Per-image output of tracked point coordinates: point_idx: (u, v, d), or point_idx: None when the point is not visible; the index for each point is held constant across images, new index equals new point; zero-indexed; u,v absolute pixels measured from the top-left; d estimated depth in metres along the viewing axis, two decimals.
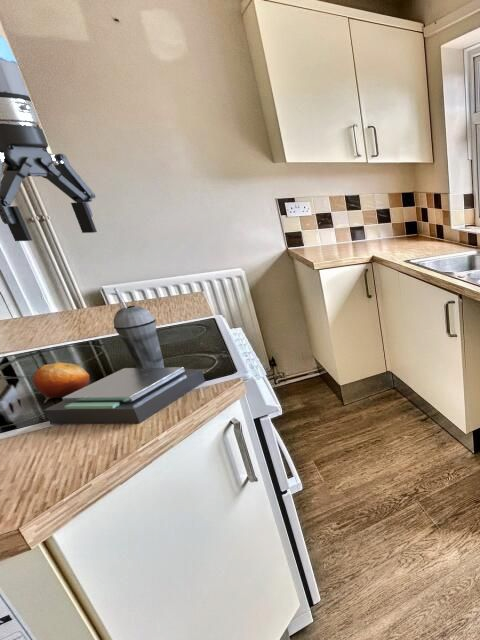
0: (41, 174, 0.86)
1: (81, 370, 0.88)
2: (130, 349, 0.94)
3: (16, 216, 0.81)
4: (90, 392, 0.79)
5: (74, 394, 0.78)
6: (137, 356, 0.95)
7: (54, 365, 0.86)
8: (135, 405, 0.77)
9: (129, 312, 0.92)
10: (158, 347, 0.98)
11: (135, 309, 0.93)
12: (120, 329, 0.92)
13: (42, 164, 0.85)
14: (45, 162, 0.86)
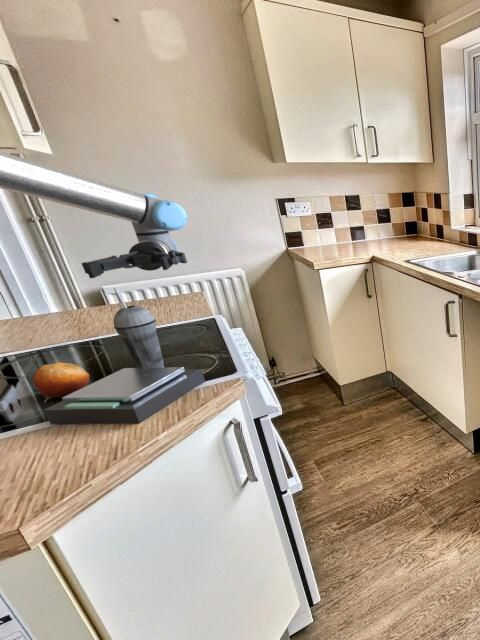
0: (140, 264, 1.09)
1: (81, 370, 0.88)
2: (130, 349, 0.94)
3: (171, 265, 1.06)
4: (90, 392, 0.79)
5: (74, 394, 0.78)
6: (137, 356, 0.95)
7: (54, 365, 0.86)
8: (135, 405, 0.77)
9: (129, 312, 0.92)
10: (158, 347, 0.98)
11: (135, 309, 0.93)
12: (120, 329, 0.92)
13: (140, 265, 1.10)
14: (140, 266, 1.10)
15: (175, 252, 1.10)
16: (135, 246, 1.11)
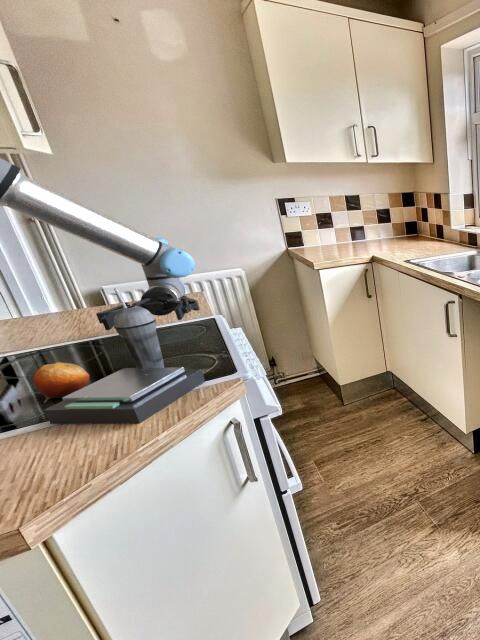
0: (152, 311, 1.10)
1: (81, 370, 0.88)
2: (130, 349, 0.94)
3: (184, 314, 1.07)
4: (90, 392, 0.79)
5: (74, 394, 0.78)
6: (137, 356, 0.95)
7: (54, 365, 0.86)
8: (135, 405, 0.77)
9: (129, 312, 0.92)
10: (158, 347, 0.98)
11: (135, 309, 0.93)
12: (120, 329, 0.92)
13: (152, 311, 1.12)
14: (151, 313, 1.12)
15: (187, 299, 1.12)
16: (147, 293, 1.13)
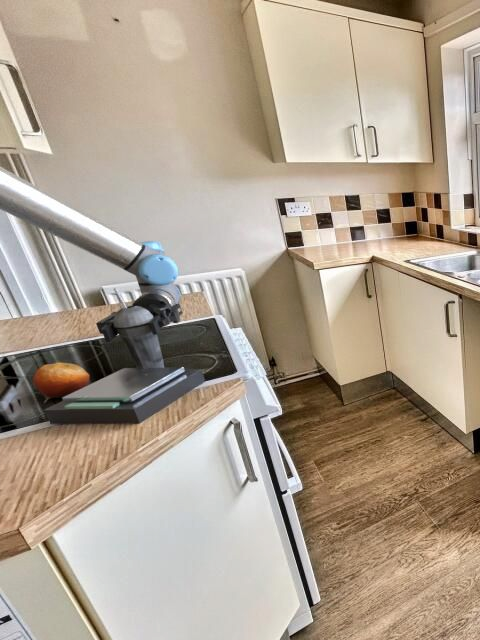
0: None
1: (81, 370, 0.88)
2: (130, 349, 0.94)
3: (161, 327, 0.97)
4: (90, 392, 0.79)
5: (74, 394, 0.78)
6: (137, 356, 0.95)
7: (54, 365, 0.86)
8: (135, 405, 0.77)
9: (129, 312, 0.92)
10: (158, 347, 0.98)
11: (135, 309, 0.93)
12: (120, 329, 0.92)
13: None
14: None
15: (172, 309, 1.03)
16: (138, 300, 1.05)
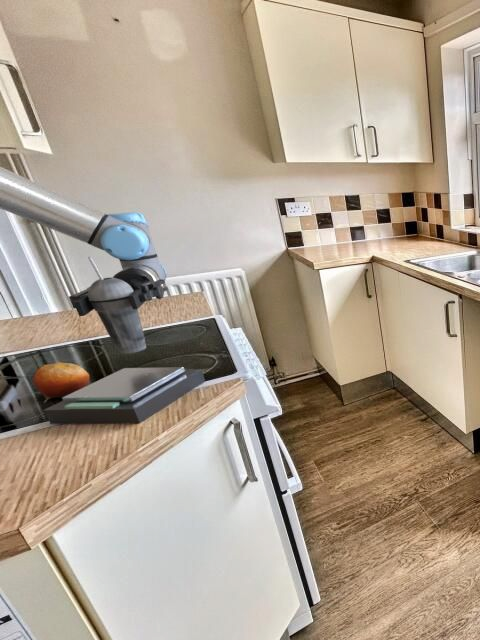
0: None
1: (81, 370, 0.88)
2: (107, 326, 0.85)
3: (142, 302, 0.88)
4: (90, 392, 0.79)
5: (74, 394, 0.78)
6: (115, 334, 0.86)
7: (54, 365, 0.86)
8: (135, 405, 0.77)
9: (106, 284, 0.83)
10: (139, 324, 0.88)
11: (112, 281, 0.84)
12: (95, 303, 0.82)
13: None
14: None
15: (155, 284, 0.93)
16: (118, 274, 0.96)
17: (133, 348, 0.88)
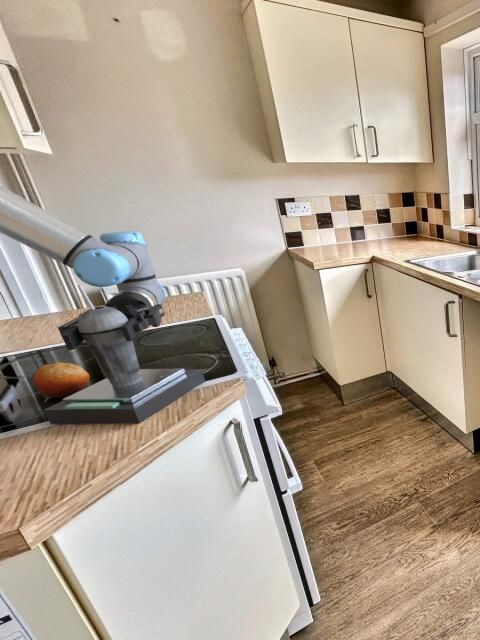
0: None
1: (81, 370, 0.88)
2: (99, 358, 0.78)
3: (137, 332, 0.81)
4: (90, 394, 0.79)
5: (74, 396, 0.78)
6: (107, 367, 0.79)
7: (54, 365, 0.86)
8: (135, 405, 0.77)
9: (97, 314, 0.76)
10: (134, 356, 0.82)
11: (104, 311, 0.77)
12: (86, 335, 0.76)
13: None
14: None
15: (152, 310, 0.87)
16: (113, 299, 0.89)
17: (127, 381, 0.82)
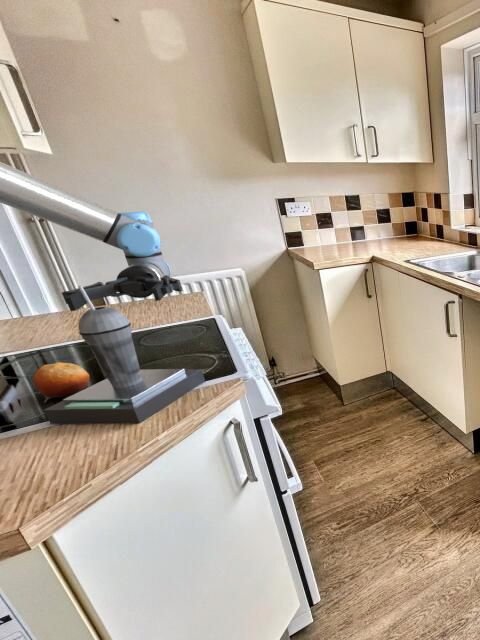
0: (129, 292, 0.97)
1: (81, 370, 0.88)
2: (99, 359, 0.78)
3: (164, 295, 0.94)
4: (90, 394, 0.79)
5: (75, 396, 0.78)
6: (108, 368, 0.79)
7: (54, 365, 0.86)
8: (135, 405, 0.77)
9: (97, 315, 0.76)
10: (134, 356, 0.82)
11: (105, 311, 0.77)
12: (86, 335, 0.76)
13: (129, 292, 0.98)
14: None
15: (169, 279, 0.99)
16: (124, 271, 0.99)
17: (127, 382, 0.82)
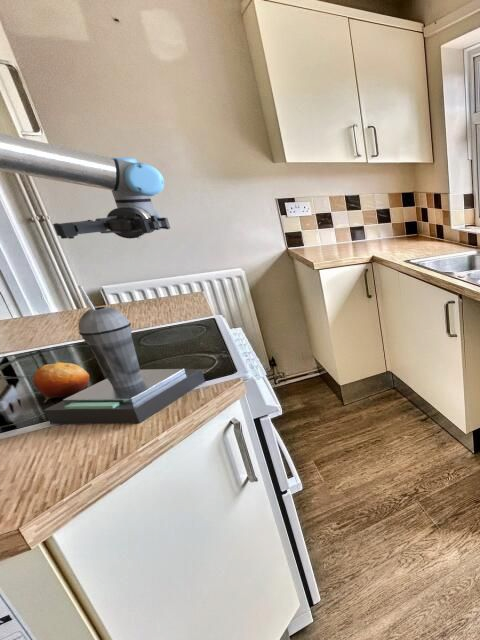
0: (118, 229, 1.01)
1: (81, 370, 0.88)
2: (99, 359, 0.78)
3: (152, 230, 0.98)
4: (90, 394, 0.79)
5: (75, 396, 0.78)
6: (108, 368, 0.79)
7: (54, 365, 0.86)
8: (135, 405, 0.77)
9: (97, 315, 0.76)
10: (134, 356, 0.82)
11: (105, 311, 0.77)
12: (86, 335, 0.76)
13: (119, 231, 1.02)
14: (118, 232, 1.03)
15: None
16: (113, 211, 1.03)
17: (127, 382, 0.82)
